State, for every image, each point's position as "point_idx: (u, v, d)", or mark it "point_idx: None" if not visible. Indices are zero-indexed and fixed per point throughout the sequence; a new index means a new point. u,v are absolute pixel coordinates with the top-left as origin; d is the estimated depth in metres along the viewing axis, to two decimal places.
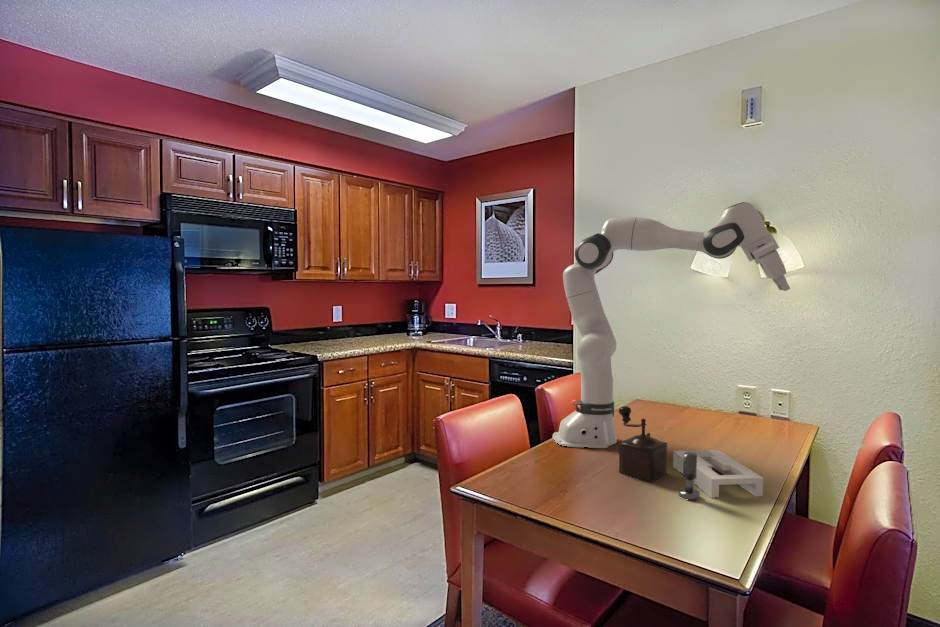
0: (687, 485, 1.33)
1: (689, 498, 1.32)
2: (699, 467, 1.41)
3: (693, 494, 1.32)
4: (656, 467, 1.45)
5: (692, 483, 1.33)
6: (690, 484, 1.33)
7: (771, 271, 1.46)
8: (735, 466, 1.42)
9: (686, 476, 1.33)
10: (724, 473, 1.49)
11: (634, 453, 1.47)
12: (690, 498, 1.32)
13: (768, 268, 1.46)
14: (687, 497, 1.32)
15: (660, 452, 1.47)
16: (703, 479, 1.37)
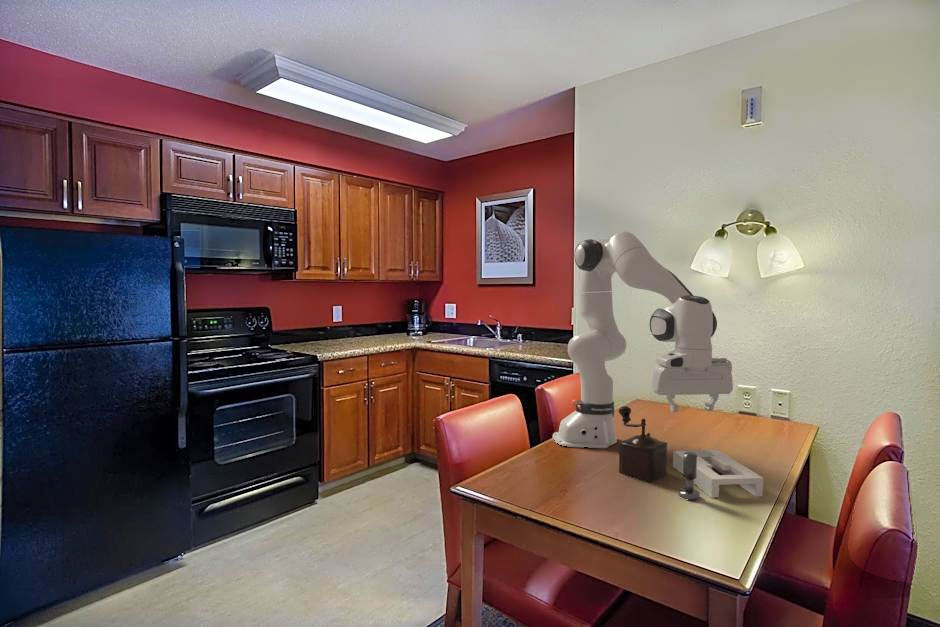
0: (687, 485, 1.33)
1: (689, 498, 1.32)
2: (699, 467, 1.41)
3: (693, 494, 1.32)
4: (656, 467, 1.45)
5: (692, 483, 1.33)
6: (690, 484, 1.33)
7: (652, 383, 1.33)
8: (735, 466, 1.42)
9: (686, 476, 1.33)
10: (724, 473, 1.49)
11: (634, 453, 1.47)
12: (690, 498, 1.32)
13: None
14: (687, 497, 1.32)
15: (660, 452, 1.47)
16: (703, 479, 1.37)
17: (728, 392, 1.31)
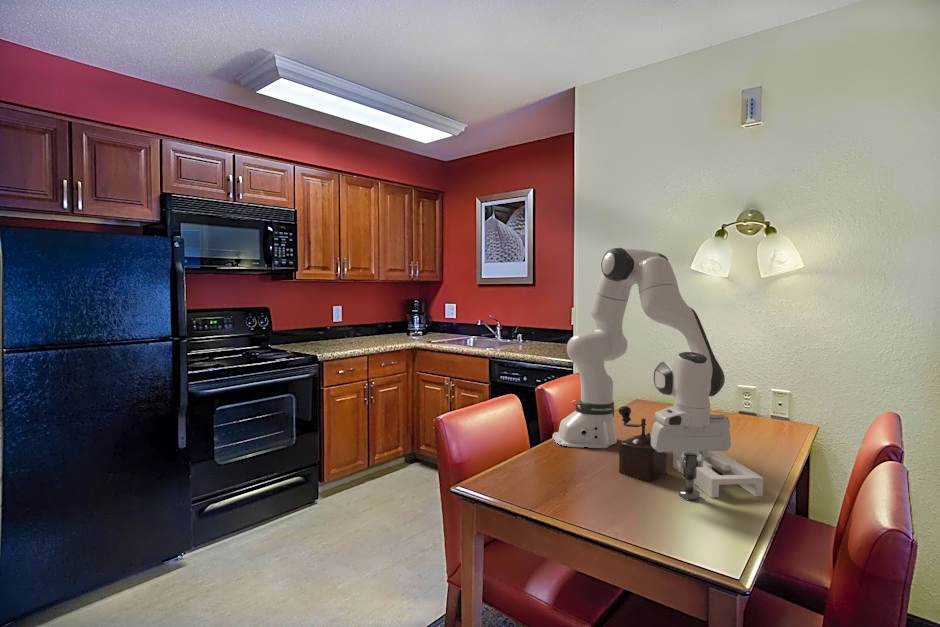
0: (687, 485, 1.33)
1: (689, 498, 1.32)
2: (699, 467, 1.41)
3: (693, 494, 1.32)
4: (656, 467, 1.45)
5: (692, 483, 1.33)
6: (690, 484, 1.33)
7: (651, 439, 1.34)
8: (735, 466, 1.42)
9: (686, 476, 1.33)
10: (724, 473, 1.49)
11: (634, 453, 1.47)
12: (690, 498, 1.32)
13: (651, 435, 1.34)
14: (687, 497, 1.32)
15: (660, 452, 1.47)
16: (703, 479, 1.37)
17: (726, 449, 1.32)
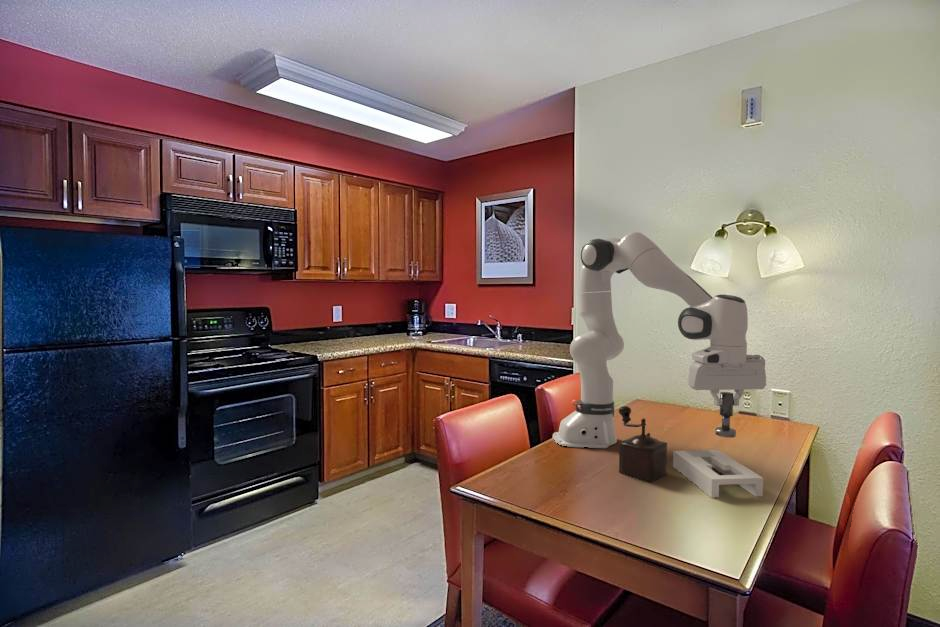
0: (724, 423, 1.38)
1: (726, 435, 1.36)
2: (699, 467, 1.41)
3: (730, 431, 1.37)
4: (656, 467, 1.45)
5: (729, 421, 1.37)
6: (727, 422, 1.37)
7: (688, 379, 1.38)
8: (735, 466, 1.42)
9: (723, 414, 1.37)
10: (724, 473, 1.49)
11: (634, 453, 1.47)
12: (727, 435, 1.36)
13: (689, 375, 1.39)
14: (724, 434, 1.36)
15: (660, 452, 1.47)
16: (703, 479, 1.37)
17: (762, 387, 1.36)
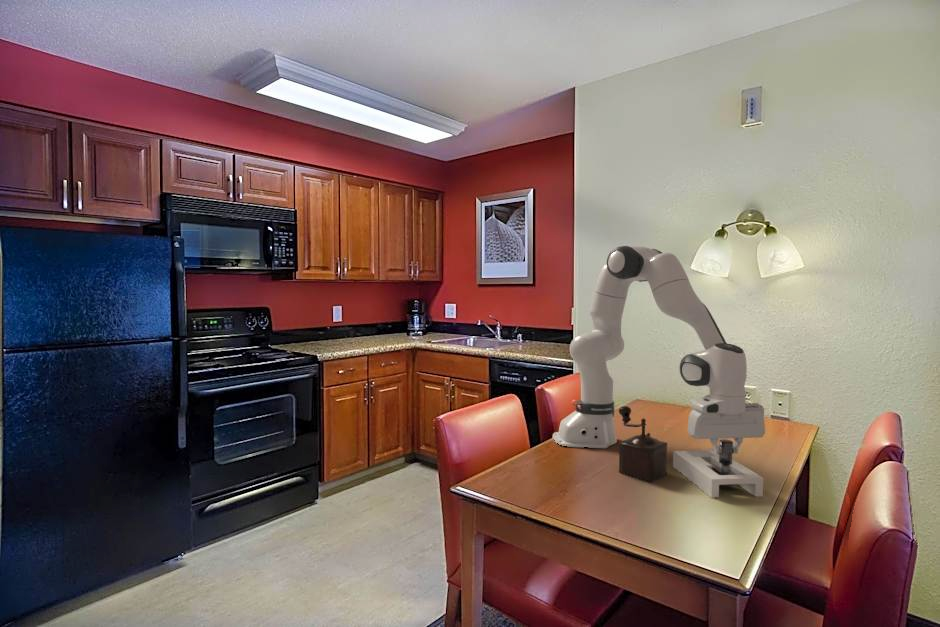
0: (723, 471, 1.39)
1: None
2: (699, 467, 1.41)
3: None
4: (656, 467, 1.45)
5: (728, 469, 1.38)
6: (726, 470, 1.38)
7: (688, 427, 1.39)
8: (735, 466, 1.42)
9: (722, 462, 1.38)
10: None
11: (634, 453, 1.47)
12: None
13: (688, 423, 1.40)
14: None
15: (660, 452, 1.47)
16: (703, 479, 1.37)
17: (761, 436, 1.38)
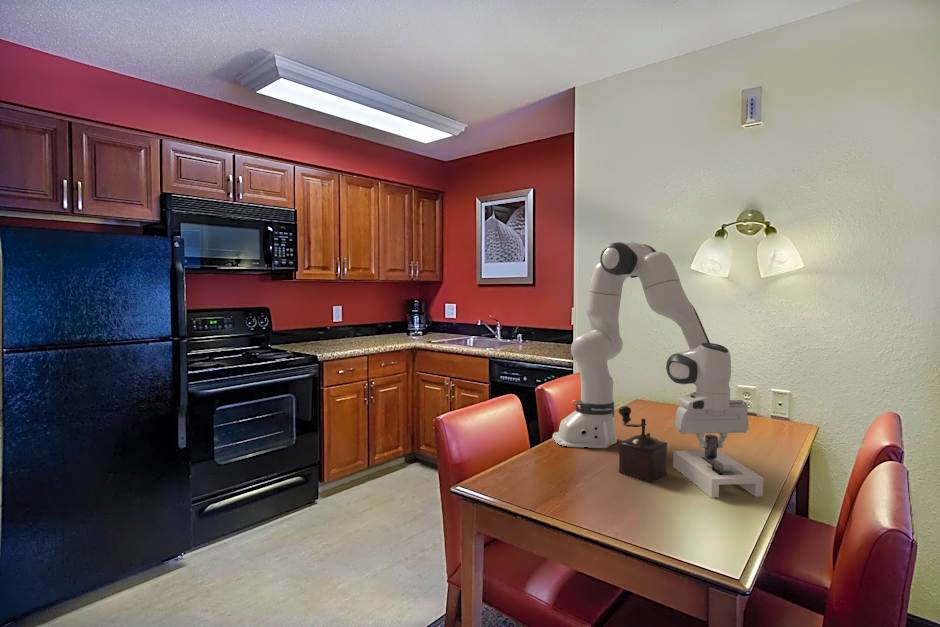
0: None
1: None
2: (699, 467, 1.41)
3: None
4: (656, 467, 1.45)
5: (713, 462, 1.46)
6: (711, 463, 1.46)
7: (675, 422, 1.47)
8: (735, 466, 1.42)
9: (707, 456, 1.45)
10: (724, 473, 1.49)
11: (634, 453, 1.47)
12: None
13: None
14: None
15: (660, 452, 1.47)
16: (703, 479, 1.37)
17: (744, 431, 1.45)
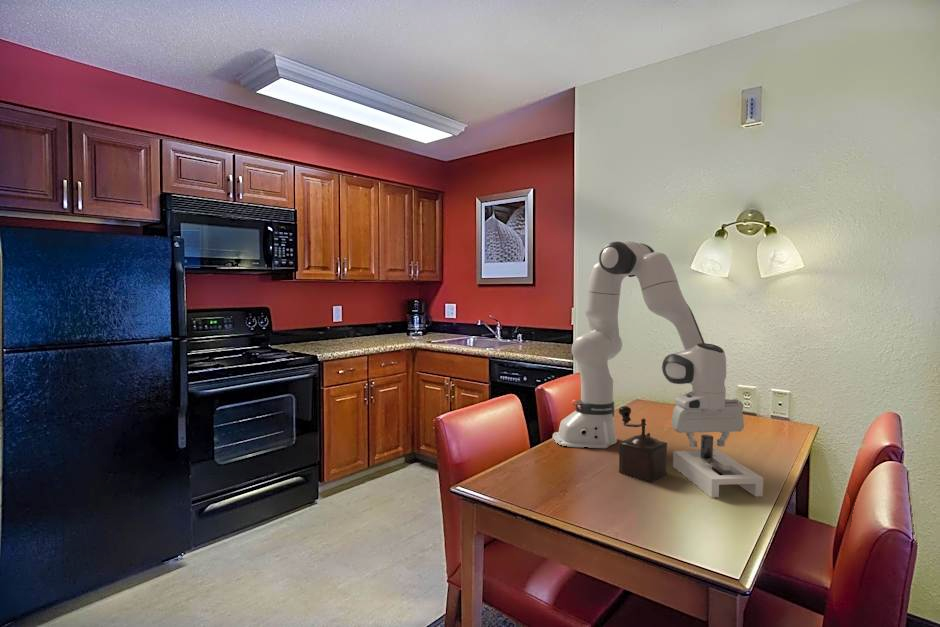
0: None
1: None
2: (699, 467, 1.41)
3: None
4: (656, 467, 1.45)
5: (709, 462, 1.48)
6: None
7: (672, 421, 1.49)
8: (735, 466, 1.42)
9: (703, 456, 1.48)
10: (724, 473, 1.49)
11: (634, 453, 1.47)
12: None
13: (672, 417, 1.49)
14: None
15: (660, 452, 1.47)
16: (703, 479, 1.37)
17: (739, 430, 1.47)
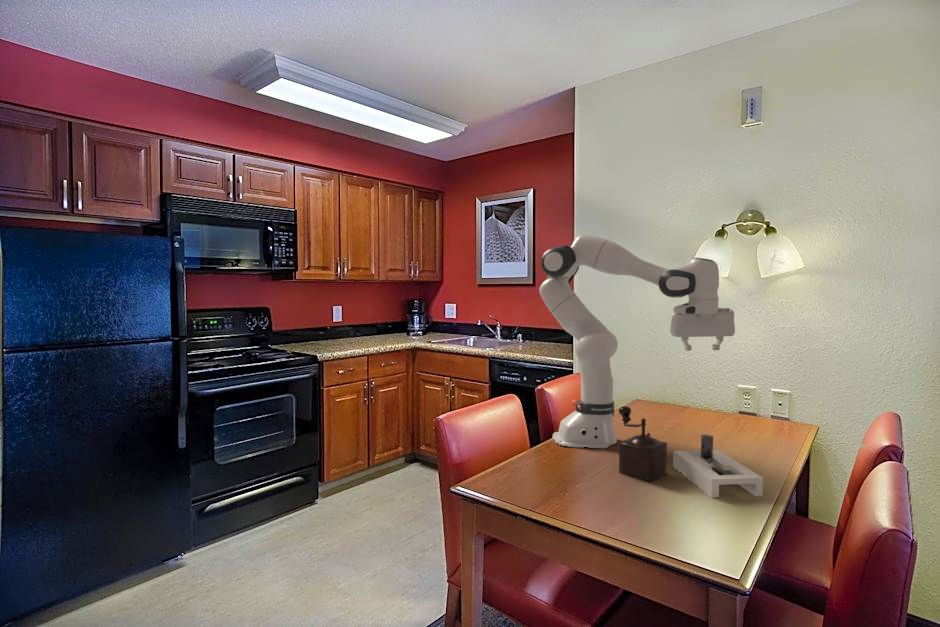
0: None
1: None
2: (699, 467, 1.41)
3: None
4: (656, 467, 1.45)
5: (709, 462, 1.48)
6: None
7: (670, 328, 1.66)
8: (735, 466, 1.42)
9: (703, 456, 1.48)
10: (724, 473, 1.49)
11: (634, 453, 1.47)
12: None
13: (671, 325, 1.66)
14: None
15: (660, 452, 1.47)
16: (703, 479, 1.37)
17: (731, 335, 1.64)
